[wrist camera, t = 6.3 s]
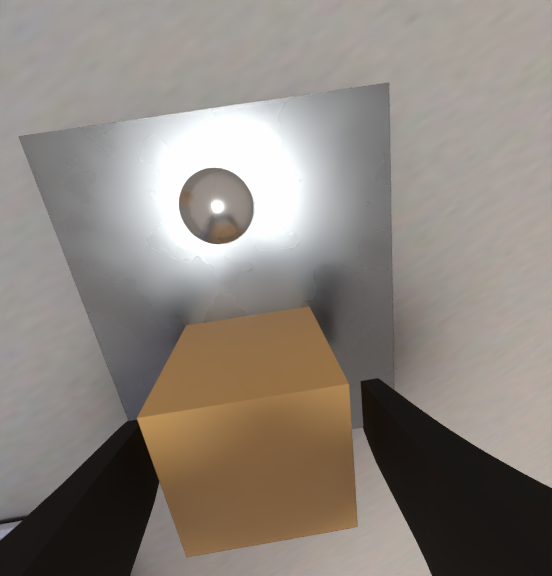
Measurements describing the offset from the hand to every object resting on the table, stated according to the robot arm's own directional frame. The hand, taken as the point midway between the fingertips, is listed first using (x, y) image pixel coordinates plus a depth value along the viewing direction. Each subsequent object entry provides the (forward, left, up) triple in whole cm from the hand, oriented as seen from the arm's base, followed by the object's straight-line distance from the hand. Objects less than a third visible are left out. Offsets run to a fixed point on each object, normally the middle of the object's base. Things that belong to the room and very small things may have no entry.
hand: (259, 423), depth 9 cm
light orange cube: (0, 0, -3) cm, 3 cm away
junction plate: (+3, 0, -4) cm, 5 cm away
